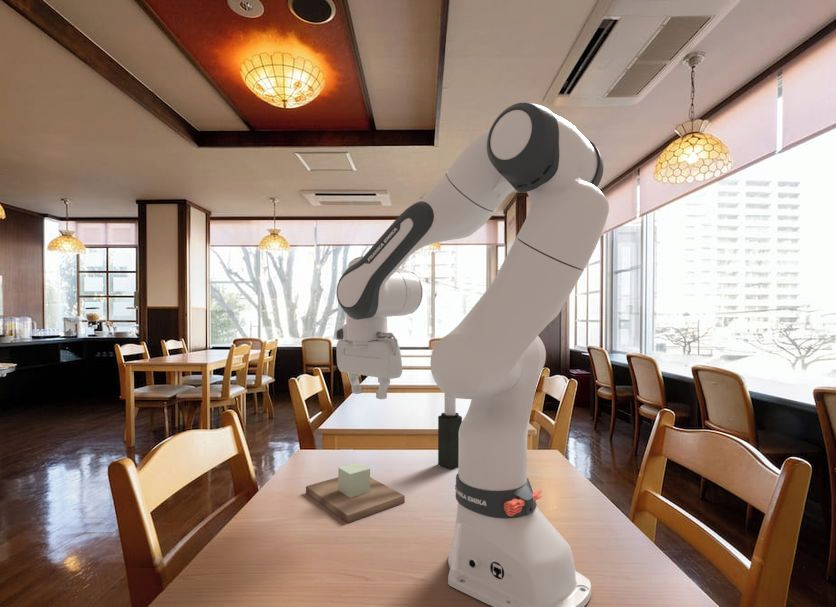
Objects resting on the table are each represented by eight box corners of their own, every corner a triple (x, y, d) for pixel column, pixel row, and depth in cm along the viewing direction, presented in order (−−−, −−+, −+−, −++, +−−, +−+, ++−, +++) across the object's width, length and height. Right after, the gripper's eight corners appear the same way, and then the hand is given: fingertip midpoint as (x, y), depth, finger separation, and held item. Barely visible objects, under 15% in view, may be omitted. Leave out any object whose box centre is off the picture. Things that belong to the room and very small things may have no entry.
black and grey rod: (450, 460, 123) (450, 367, 123) (463, 465, 119) (463, 370, 119) (436, 464, 120) (436, 369, 120) (449, 470, 116) (449, 372, 116)
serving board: (404, 502, 97) (404, 495, 97) (347, 523, 88) (347, 515, 88) (359, 477, 111) (359, 471, 111) (305, 492, 102) (305, 486, 102)
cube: (370, 491, 99) (370, 468, 99) (350, 497, 96) (350, 474, 96) (357, 484, 103) (357, 462, 103) (338, 490, 100) (338, 467, 100)
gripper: (408, 331, 93) (410, 400, 92) (354, 330, 108) (356, 388, 108) (383, 333, 88) (385, 404, 88) (331, 331, 104) (332, 392, 104)
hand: (368, 396), depth 98 cm, fingers open, 8 cm apart
